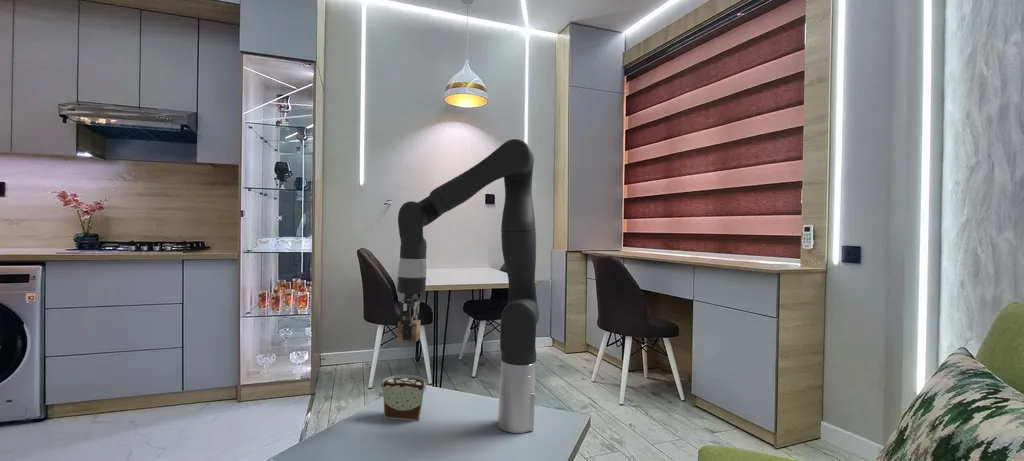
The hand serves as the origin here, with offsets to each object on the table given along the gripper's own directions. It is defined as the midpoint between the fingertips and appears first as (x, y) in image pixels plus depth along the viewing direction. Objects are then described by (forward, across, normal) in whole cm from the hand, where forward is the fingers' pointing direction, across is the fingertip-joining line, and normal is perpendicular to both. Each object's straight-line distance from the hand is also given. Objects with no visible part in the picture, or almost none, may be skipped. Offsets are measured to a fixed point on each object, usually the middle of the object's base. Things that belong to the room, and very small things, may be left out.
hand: (409, 337), depth 123 cm
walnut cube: (+1, 0, 0) cm, 1 cm away
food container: (+21, 0, 0) cm, 21 cm away
